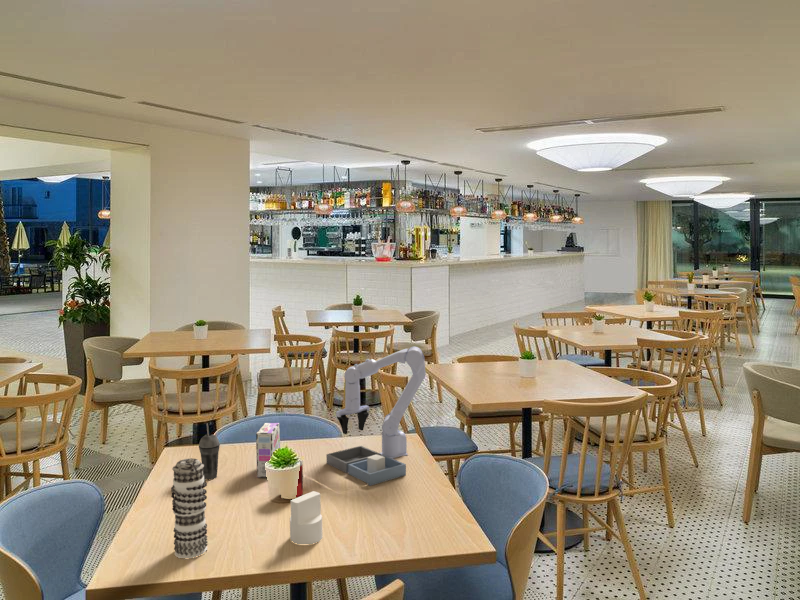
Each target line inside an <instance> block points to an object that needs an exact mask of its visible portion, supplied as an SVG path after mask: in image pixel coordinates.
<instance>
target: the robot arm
mask: <svg viewBox="0 0 800 600" xmlns="http://www.w3.org/2000/svg"><path fill="white" fill-rule="evenodd" d="M395 363H400V364H404V365H405V364H406V363H407V365H408V366H409V367H410V370H411V373H412V375H411V377H410V378H409V380H408V382H407V383H406V386H405V387H404V389H403V391H402V392H401V394H400V396H399V397H398V399H397V401H396V403H395V405H394V407H393V408H392V409H391V411H390V412H389V413H388V414H386V415H385V417H384V418H383V423H382V425H381V430H382V431H381V452H379V453H380V454H381V456H382V455H385V456H387V457H390V458H392V459H396V458H399V457H402V456H403V457H404V456H405V457H406V456H408V455H409V453H407V452H408V450H407V445H408V444H407V443H408V442H407V435H406V433H405V432H403V431H402V430H400V429H399V425H400V423H401V421H402V419H403V416H404V414H405V413H406V411H407V410H408V408H409V406H410V404H411V403H412V401H413V398H414V397H415V395H416V394H417V392H418V390H419V388H420V386H421V385H422V384H423V381H424V380H425V378H426V375H427V372H426V361H425V356H424V353H423V350H422V349H421V348H420V347H418V346H414V345H413V346H411V347H409V348H407V347H406V348H404V349H401V350H398V351H396V352H393V353H391V354H389V355H386V356H384V357H382V358H380V359H378V360H375V359H373V358H371V359H369V358H367V359H365V360H364V362H360V363H359V364H358V363H355V364H354V365H353V366H349V367H348V368H347V369H346V371H345V372H344V375H343V376H344V380H345V383H344V384H345V387H344V389H345V390H344V391H345V392H344V393H345V394H344V395H345V408H343V409H340V410H337V411H335V417H336V418H337V420H338V422H339V424H340V428H341V430H342V434H344V435H347V434H348V432H349V431H348V425H349V420H350V417H348V415H349V416H350V415H353V414H356V415H357V422H358V427H357V428H358V431H359V430H360V431H364V428H365V424H366V421H367V419H368V417H369V415H370V413H369V412H370V406H369V405H366V404H365V405H361V385H360V380H361V379H365V378H367V377H370V376H372V375H375V374H378V372H379V370H380V369H381V368H385V367H387V366H390V365H393V364H395Z"/></svg>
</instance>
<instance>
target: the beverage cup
mask: <svg viewBox="0 0 800 600" xmlns="http://www.w3.org/2000/svg"><path fill="white" fill-rule="evenodd" d="M209 430H210V429H209V423H208V422H207V423H206V431H207V433H206V434H205V435H204V436H202V437H201V438H200V440H199V443H198V448H199V453H200V458H201V459H200V462H201V463H203V464H204V467H203V475H204V478H206V479H205V480H207V479H210V480H214V478H215V479H216V478H217V477H218V469H219V468H218V467H219V451H220V447H221V444H220V440H219V437H217V435H215V434H212V433H210V431H209Z"/></svg>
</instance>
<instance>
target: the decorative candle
mask: <svg viewBox="0 0 800 600" xmlns="http://www.w3.org/2000/svg"><path fill="white" fill-rule="evenodd" d="M203 467H204V464H203V463H202V461H201V460H199V459H197V458H191V457H190V458H184V459H180V460H179V461H177V462H176V464H175V465H174V466H173V467H172V468H171V470H172V471H173V479H172V486H171V488H170V489H171V491H170V492H171V498H172V500H171V501H172V502H171V503H172V508H171V509H172V513H173V514H174V515H175V516H174V519H175V521H174V527H173V533H174V534H173V538H174V540H173V545H174V547H173V550H174V551H175V552H174V556H175V557H176V558H177V557H178V559H180V558H193V557H196V556H199V555H201V554H203V553H204V552H205V551H206V550H207V551H208V536H207V533H208V529H207V527H208V524H207V523H206V522H207V521H206V516H205V515H206V514H205V512H206V509H207V502H205V501H206V500H207V498H208V497H207V495H206V494H207V489H205V488H206V487H207V486H208V484H207V482H206V480H207V479H206V478H204V475H203ZM193 559H194V558H193Z"/></svg>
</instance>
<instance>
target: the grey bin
mask: <svg viewBox="0 0 800 600" xmlns="http://www.w3.org/2000/svg"><path fill="white" fill-rule="evenodd" d="M380 453H381V452H377V451H375V450H373V449H370V448H367V447H366V446H364V445H359V446H355V447H351V448H347V449H343V450H339V451H333V452H330V453H327V454H326V464H327V465H329V466H331V467H333V468H335V469H337V470H339V471H341V472H343V473H346V474H348V464H352V463H356V462H360V461H363V460H367V457H370V456H373V455H380V456H381V454H380Z"/></svg>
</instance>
